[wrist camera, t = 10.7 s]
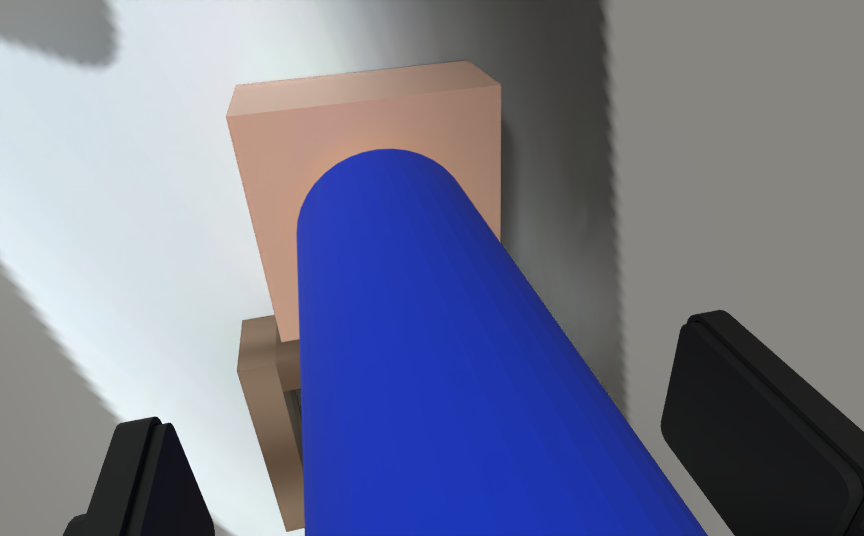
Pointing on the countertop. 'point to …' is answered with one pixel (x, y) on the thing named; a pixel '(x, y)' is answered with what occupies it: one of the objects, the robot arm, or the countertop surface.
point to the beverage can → (449, 377)
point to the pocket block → (275, 410)
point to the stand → (357, 147)
